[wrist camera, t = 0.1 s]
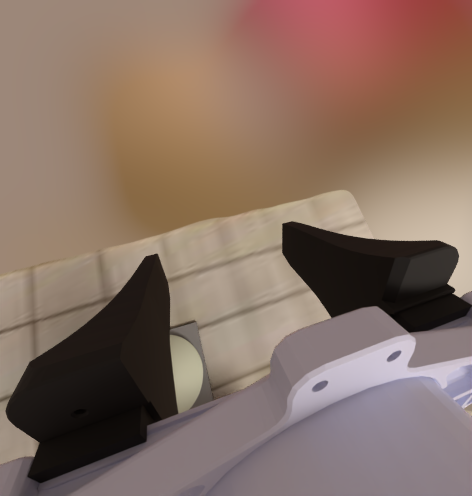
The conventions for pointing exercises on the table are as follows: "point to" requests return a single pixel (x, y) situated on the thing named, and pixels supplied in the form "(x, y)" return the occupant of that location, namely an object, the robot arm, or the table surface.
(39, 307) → the table surface
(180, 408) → the lid
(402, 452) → the robot arm
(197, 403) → the mat
